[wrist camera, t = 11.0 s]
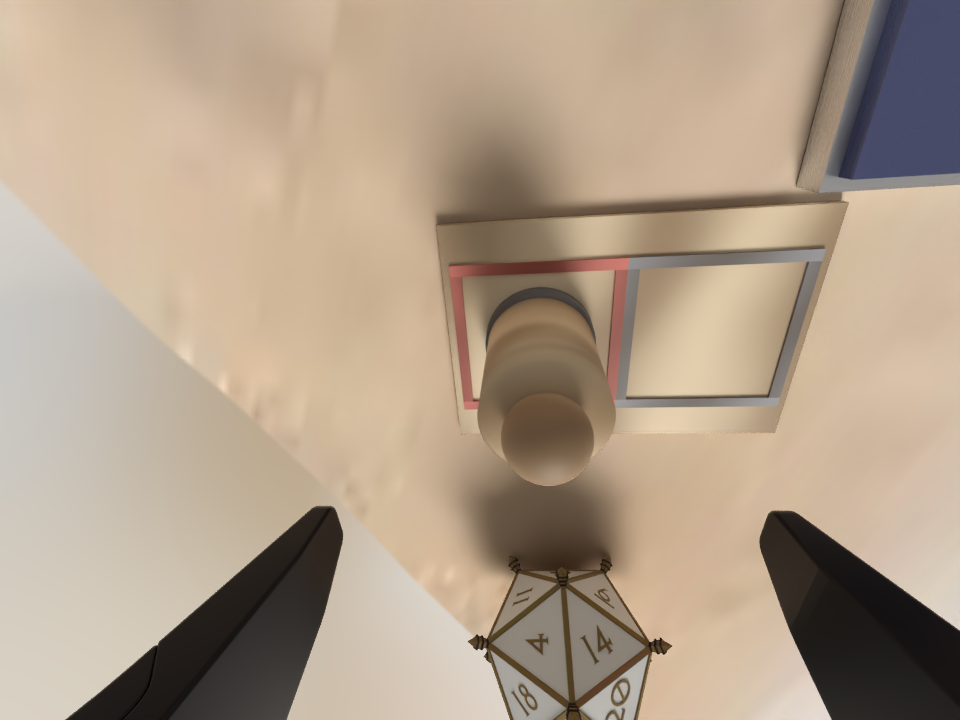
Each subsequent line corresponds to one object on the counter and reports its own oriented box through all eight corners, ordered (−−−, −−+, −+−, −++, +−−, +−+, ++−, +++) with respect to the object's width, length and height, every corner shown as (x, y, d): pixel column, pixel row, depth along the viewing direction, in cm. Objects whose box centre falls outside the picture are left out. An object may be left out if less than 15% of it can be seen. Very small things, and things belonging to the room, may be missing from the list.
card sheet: (842, 200, 14) (850, 203, 13) (771, 428, 18) (776, 434, 18) (438, 223, 15) (435, 226, 15) (461, 429, 19) (460, 435, 19)
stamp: (590, 380, 17) (628, 530, 11) (490, 382, 18) (472, 527, 12) (595, 284, 15) (645, 399, 9) (483, 289, 16) (457, 401, 10)
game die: (540, 498, 26) (540, 543, 16) (668, 587, 25) (753, 696, 15) (459, 626, 26) (409, 750, 16) (583, 725, 24) (613, 931, 14)
